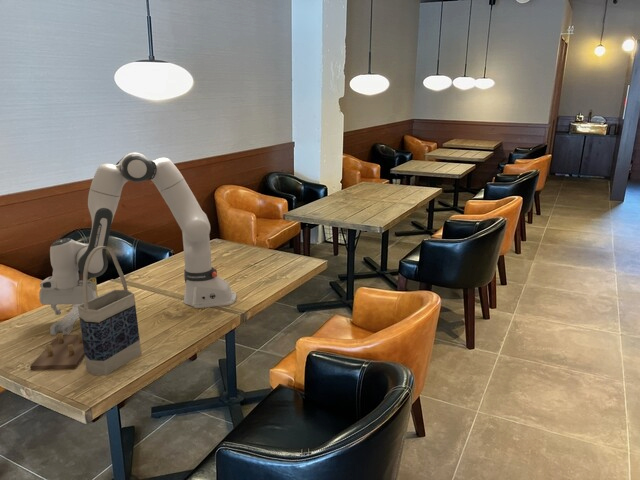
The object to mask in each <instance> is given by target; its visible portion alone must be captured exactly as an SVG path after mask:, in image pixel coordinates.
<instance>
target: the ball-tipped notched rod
mask: <svg viewBox="0 0 640 480" xmlns="http://www.w3.org/2000/svg"><path fill="white" fill-rule="evenodd" d="M71 305H72V306H71V309H70V310H69V312H68V313H67V314H65V316H64V317H63V318H61V320H58V321H56V320H55V322H54V323H52V325H51V326H50V327H49V331H50V336H56V335H58V333H63V335H69V334H70V333H71V332H72V331H73V329H74V323H75V322H76V321H77V320H78V319H80V318H79V311H78V305H80V304H71Z"/></svg>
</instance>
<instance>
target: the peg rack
mask: <svg viewBox="0 0 640 480" xmlns="http://www.w3.org/2000/svg"><path fill="white" fill-rule="evenodd" d="M83 359H85V356H84V348H83V341H82V333H81V331H80V332H78V333H77V334H75V333H74V334H73V333H72V334H70V333H69V334H68V335H63V332H58V333H57V336H56V337H55V338H54V339H53V340H52V341H51V342H50V343H49V344H48V345H46V348H45V349H44V350H43V351H42V352H41V354H40V355H38V357H37V358H36V359H35V360H34V361H33V362H32V363H31V365H29V366H30V371H38V370H39V371H42V370H43V371H45V370H65V369H66V370H69V369H70V370H71V369H72V370H73V369H77V368H78V367H79V365H80V363H82V362H83Z"/></svg>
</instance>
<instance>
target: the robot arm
mask: <svg viewBox="0 0 640 480" xmlns="http://www.w3.org/2000/svg"><path fill="white" fill-rule="evenodd" d="M145 181H152V183H153V184H154V186H155V188H156V189H157V190H158V192H159V194H160V195H161V197H162V199H163V200H164V202H165V203H166V205H167V206H168V209H170V212H171V213H172V215H173V217H174V219H175V221H176V223H177V224H178V227H179V228H180V230H181V233H182V245H183V257H184V260H183V261H184V270H183V275H184V276H183V278H184V283H185V289H184V297H183V303H184V304H185V305H188V306H191V307H193V308H195V309H204V307H205V308H212V307H222V306H230V305H231V306H232V305H233V304H235V302H236V300H237V297H238V296H237V293H236V292H235V291H234V290H232V289H231V285H230V283H229V282H228V281H227V280H225V279H223V278H221V277H220V276H218V271H217V268H216V267H215V268H214V267H213V265H212V251H211V249H212V248H211V240H210V234H211V223H210V221H209V218H208V215H207V213H205V211H203V210H202V208H201V206H200V203H199V202H198V200H197V198H196V196H195V195H194V192H192V190H191V188H190V187H189V185H188V183H187V181H186V180H185V177H184V176H183V175H182V172H181V171H180V170H179V169H178V167H177V166H176V165H175V163H173V161H172V160H171V159H170V158H168V157H158V158H157V159H155V160H152V159H150V158H148V157H147V156H145V155H144V154H142V153H140V152H135V151H134V152H130V153H127V154H125V155H124V156H123V157H122V158H121V159H120V160H119V161H117V162H116V163H115V164H112V163H104V164H103V163H102V164H100V165H99V166H98V168H97V169H96V171H95V173H94V175H93V178H92V180H91V184H90V186H89V187H90V188H89V191H88V195H87V196H88V197H87V207H88V212H89V214H90V218H91V230H90V235H89V239H88V243H84V242H79V241H77V240H74V239H72V238H70V237H69V238H68V237H66V238H61V239H57V240H56V241H53V243H52V244H51V245H50V248H49V258H50V260H49V261H50V265H51V267H52V268H51V269H52V276H48V277H46V278H45V279H43V280H42V281H41V282H40V283H39V286H40V287H39V288H40V289H39V292H38V293H39V302H40V304H41V305H42V306H47V305H48V306H49V305H50V308H51V309H52V310H53V311H54V315H56V316H57V315H58V316H59V315H61V314H62V312H61V308H58V307H57V305H58V306H59V305H61V306H62V305H74V304H83V303H84V298H83V280H80V272H81V274H82V275H83V272H84V266H85V262H86V259H87V257H88V255H89V254H90V252H91V251H92V250H93V249H94V248H96V247H98V246H106V247H104V249H100V250H97V251H96V252H95V254H94V255H93V257H92V258H91V261H90V264H89V268H88V276H87V277H89V278H95V277H96V278H97V277H100V276H103V274H104V273H105V272H106V271H107V269H108V266H109V260H108V257H107V249H105V248H107V247H108V243H109V237H110V232H111V227H112V224H113V220H114V217H115V215H116V212H117V209H118V206H119V203H120V199H121V195H122V191H123V187H124V186H125V184H126V183H127V182H133V183H142V182H145ZM87 292H88V301H90V300H92V299H94V298H96V297H97V295H96V291H95V283H94V282H92V281H90V280H87Z"/></svg>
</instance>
